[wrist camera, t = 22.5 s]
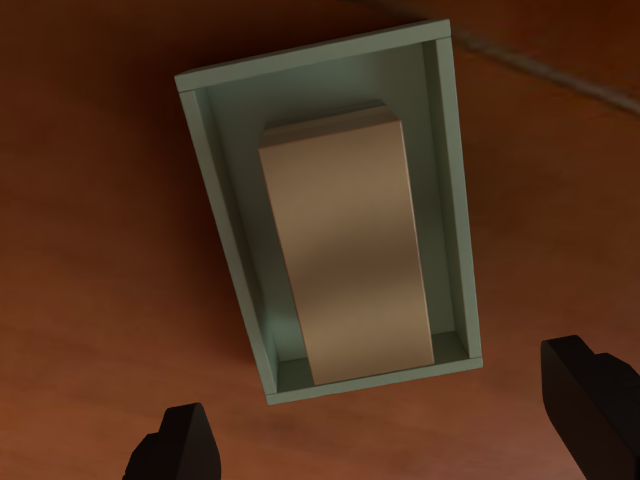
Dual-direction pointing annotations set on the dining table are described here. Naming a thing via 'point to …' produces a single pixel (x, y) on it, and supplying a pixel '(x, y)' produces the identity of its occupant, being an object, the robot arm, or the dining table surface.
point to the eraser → (349, 239)
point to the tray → (253, 202)
